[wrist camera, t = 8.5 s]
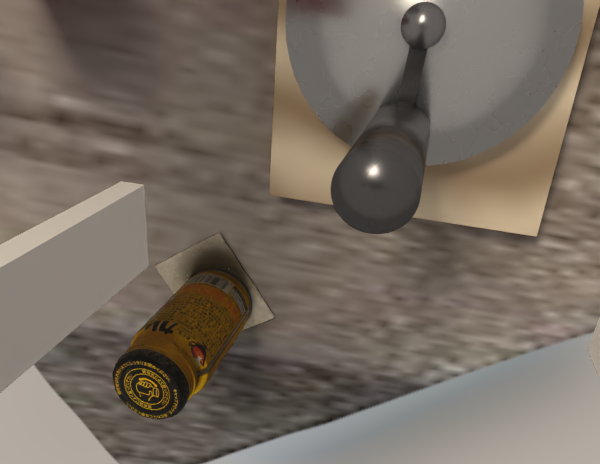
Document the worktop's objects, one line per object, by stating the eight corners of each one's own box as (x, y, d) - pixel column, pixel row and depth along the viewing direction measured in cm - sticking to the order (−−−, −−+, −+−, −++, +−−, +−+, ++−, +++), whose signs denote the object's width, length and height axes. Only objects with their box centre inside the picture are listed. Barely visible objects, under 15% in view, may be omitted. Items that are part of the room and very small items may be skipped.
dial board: (299, -218, 30) (288, -235, 28) (651, -222, 26) (669, -242, 24) (277, 186, 39) (268, 196, 37) (532, 225, 36) (537, 238, 34)
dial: (313, -156, 29) (215, -277, 17) (627, -122, 26) (782, -237, 14) (276, 131, 35) (187, 194, 23) (522, 183, 33) (566, 285, 20)
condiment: (209, 343, 47) (138, 442, 36) (155, 265, 45) (64, 344, 34) (275, 316, 44) (219, 414, 33) (220, 230, 42) (142, 305, 31)
